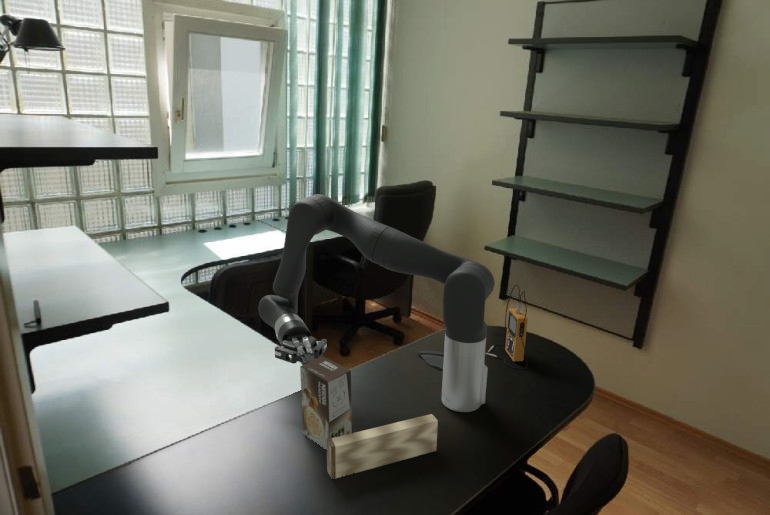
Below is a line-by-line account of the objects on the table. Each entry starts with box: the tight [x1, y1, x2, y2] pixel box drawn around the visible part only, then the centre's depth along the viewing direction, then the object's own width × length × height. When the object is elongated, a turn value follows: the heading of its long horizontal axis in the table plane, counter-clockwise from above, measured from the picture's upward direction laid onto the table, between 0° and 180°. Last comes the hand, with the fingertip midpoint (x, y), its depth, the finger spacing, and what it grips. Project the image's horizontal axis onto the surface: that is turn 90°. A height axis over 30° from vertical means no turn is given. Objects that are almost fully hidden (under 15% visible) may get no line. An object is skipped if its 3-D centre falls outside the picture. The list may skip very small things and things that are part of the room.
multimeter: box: [485, 284, 529, 370], centre depth 140 cm, size 15×10×20 cm
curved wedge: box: [417, 349, 444, 372], centre depth 140 cm, size 8×14×2 cm, turn 47°
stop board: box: [326, 413, 439, 480], centre depth 100 cm, size 22×3×7 cm, turn 113°
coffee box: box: [299, 355, 353, 451], centre depth 105 cm, size 9×6×16 cm
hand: (311, 365), depth 113 cm, fingers closed
